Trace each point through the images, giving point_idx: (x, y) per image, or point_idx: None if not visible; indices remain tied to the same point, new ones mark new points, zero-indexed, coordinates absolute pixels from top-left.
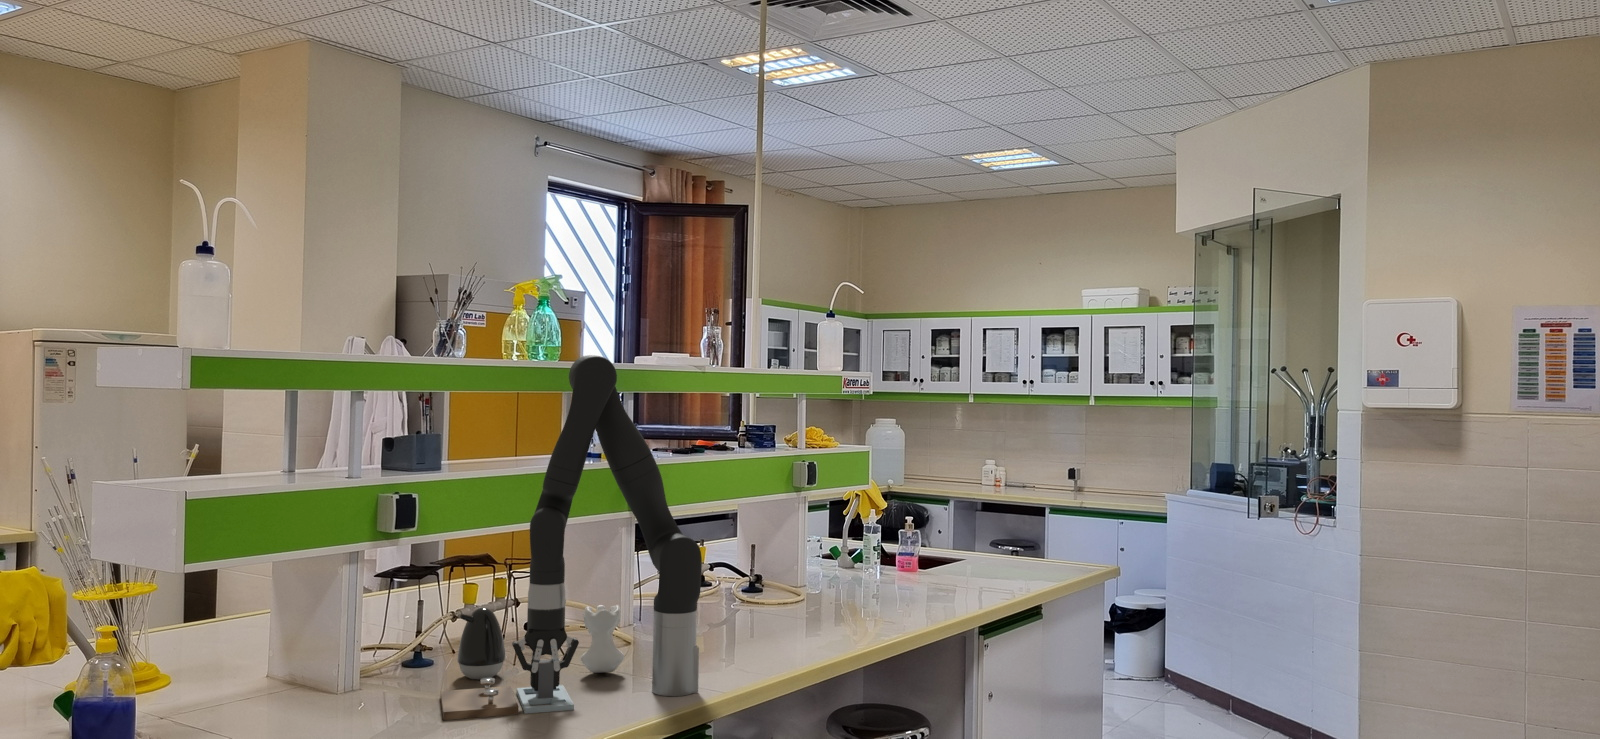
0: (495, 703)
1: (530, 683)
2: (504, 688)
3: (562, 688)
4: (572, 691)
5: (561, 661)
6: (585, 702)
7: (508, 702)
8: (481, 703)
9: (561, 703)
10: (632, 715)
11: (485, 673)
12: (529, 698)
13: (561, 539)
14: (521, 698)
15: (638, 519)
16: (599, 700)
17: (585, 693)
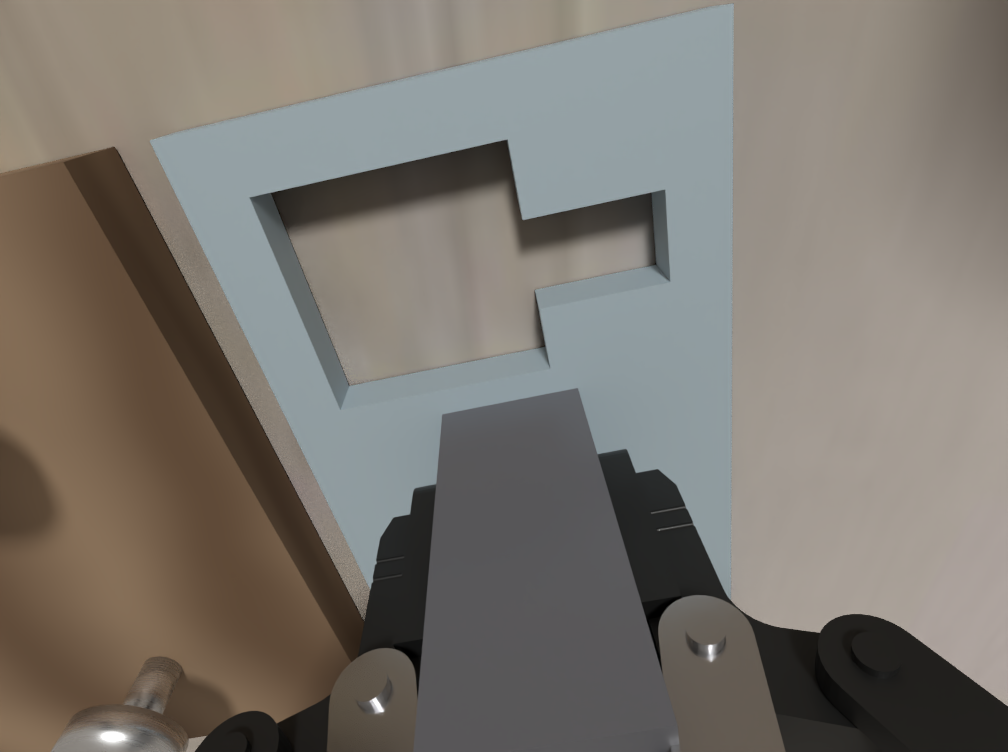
0: (196, 666)
1: (381, 552)
2: (42, 275)
3: (704, 200)
4: (804, 108)
5: (821, 743)
6: (829, 471)
7: (282, 649)
8: (92, 663)
9: None
10: (1002, 681)
11: None
12: (403, 509)
13: None
14: (336, 507)
15: None
16: (949, 430)
17: (914, 207)
